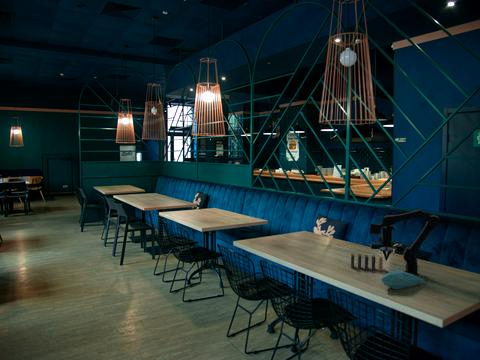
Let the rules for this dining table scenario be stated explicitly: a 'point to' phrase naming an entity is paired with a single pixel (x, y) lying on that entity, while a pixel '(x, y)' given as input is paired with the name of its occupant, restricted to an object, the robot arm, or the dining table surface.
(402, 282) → the crystal
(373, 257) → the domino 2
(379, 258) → the domino
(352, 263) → the domino
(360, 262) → the domino
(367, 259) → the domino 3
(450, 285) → the dining table surface
